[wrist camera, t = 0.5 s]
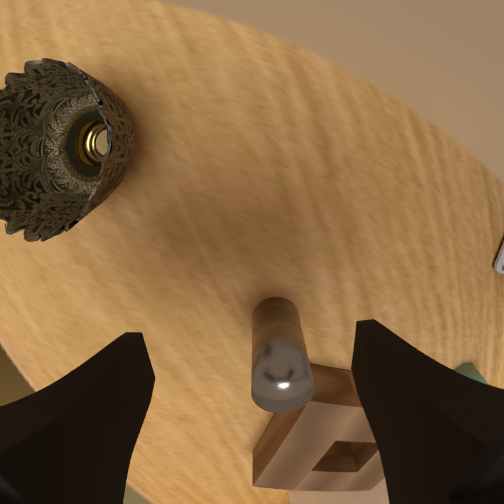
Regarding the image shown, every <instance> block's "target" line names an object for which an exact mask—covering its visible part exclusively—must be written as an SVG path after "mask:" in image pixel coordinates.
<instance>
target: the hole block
mask: <svg viewBox="0 0 504 504" xmlns="http://www.w3.org/2000/svg"><path fill="white" fill-rule="evenodd" d="M310 368H311V372H312V377H313V381H314V386H315V392H314V395H313V397H312V399H311V400H310V401H309V403H307V404H306V405H305V406H304V407H302V408H300V409H298V410H295V411H292V412H288V413H275V414H274V416H273V418H272V419H271V421H270V423H269V425H268V427H267V428H266V430H265V432H264V434H263V435H262V437H261V439H260V441H259V442H258V444H257V446H256V448H255V449H254V451H253V485H252V486H255V487H264V488H273V489H285V490H299V491H328V492H344V491H370V490H371V489H373V488H374V487H375V486H376V485H377V484H378V483H379V482H380V481H381V480H383V479H384V478H385V476H384V471H383V467H382V462H381V458H380V453H379V450H378V447H377V444H376V441H375V438H374V436H373V433H372V430H371V428H370V425H369V422H368V420H367V417H366V415H365V412H364V410H363V407H362V404H361V402H360V399H359V397H358V394H357V391H356V387H355V383H354V378H353V374H352V371H348V370H342V369H336V368H331V367H325V366H320V365H315V364H310Z"/></svg>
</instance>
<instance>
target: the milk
mask: <svg viewBox="0 0 504 504" xmlns="http://www.w3.org/2000/svg"><path fill="white" fill-rule="evenodd" d="M288 494H289V501H290V504H389V498H388V492H387V487H386V481H385V478H384V479H383V480H381V481H380V482H379V483H378V484H377V485H376V486H375V487H374V488H373V489H371V490H370V491H344V492H328V491H295V492H291V493H288Z"/></svg>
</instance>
